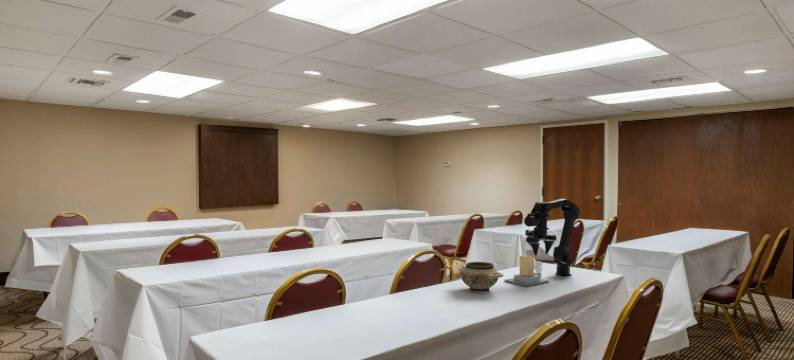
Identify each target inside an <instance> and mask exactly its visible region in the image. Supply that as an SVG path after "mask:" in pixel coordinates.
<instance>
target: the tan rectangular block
mask: <svg viewBox="0 0 794 360" xmlns="http://www.w3.org/2000/svg"><path fill="white" fill-rule="evenodd" d="M534 256H535V255H529V254H528V255H527V254H525V255H520V256H519V274H520V276H523V277H533V276H534V275H535V274H534V273H535V272H534V271H535V269H534V262H535V261H534V259H535V257H534Z"/></svg>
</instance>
